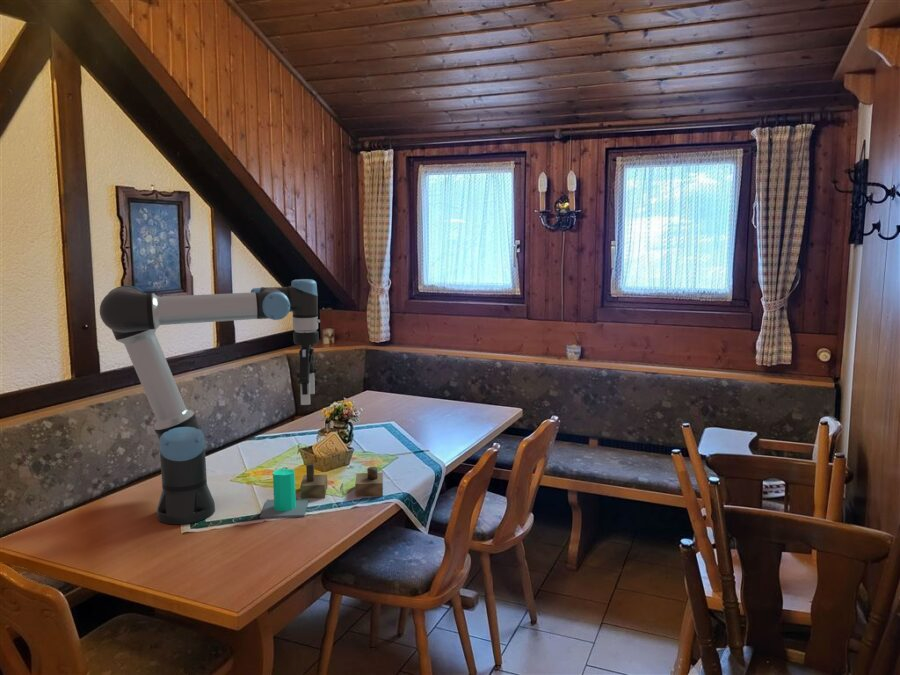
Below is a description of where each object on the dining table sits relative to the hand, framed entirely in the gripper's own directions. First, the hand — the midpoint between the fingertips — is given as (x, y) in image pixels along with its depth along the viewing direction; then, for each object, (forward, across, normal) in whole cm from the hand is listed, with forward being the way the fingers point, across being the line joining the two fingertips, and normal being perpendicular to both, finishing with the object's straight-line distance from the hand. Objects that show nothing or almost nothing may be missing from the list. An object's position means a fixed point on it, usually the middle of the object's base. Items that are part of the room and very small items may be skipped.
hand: (308, 399), depth 221 cm
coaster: (+27, -21, +5) cm, 34 cm away
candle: (+26, -21, +5) cm, 34 cm away
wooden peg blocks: (+27, -9, -10) cm, 30 cm away
